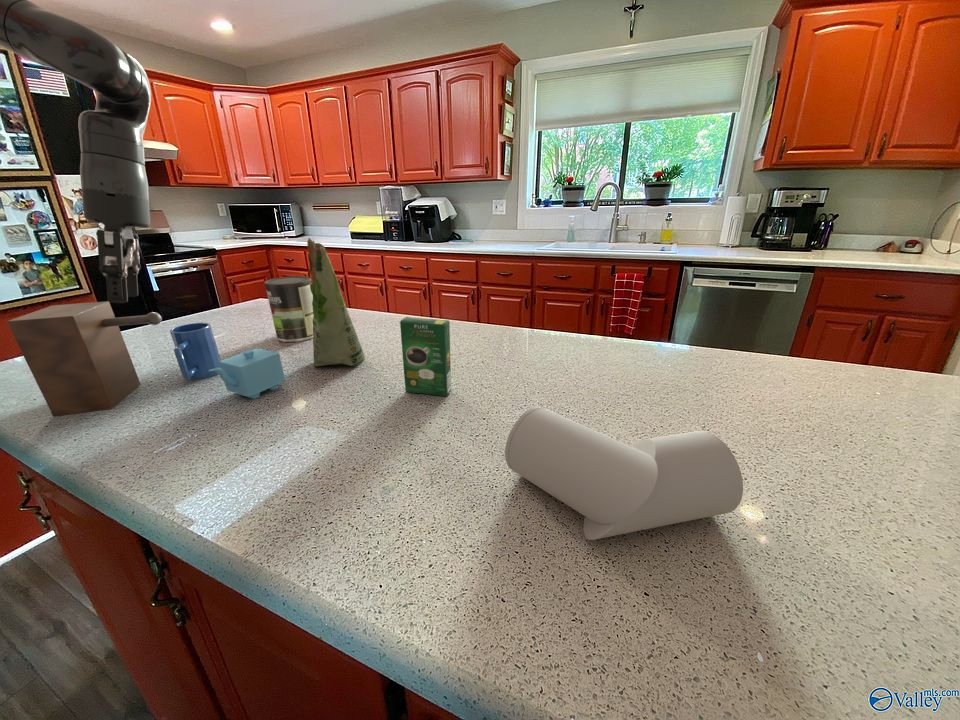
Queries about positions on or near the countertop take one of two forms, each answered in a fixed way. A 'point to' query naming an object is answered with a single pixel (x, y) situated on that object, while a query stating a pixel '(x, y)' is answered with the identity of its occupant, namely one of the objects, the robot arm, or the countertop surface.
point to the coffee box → (426, 355)
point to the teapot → (251, 372)
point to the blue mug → (195, 350)
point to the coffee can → (291, 307)
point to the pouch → (330, 314)
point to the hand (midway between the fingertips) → (124, 299)
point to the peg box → (78, 355)
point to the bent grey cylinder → (624, 473)
